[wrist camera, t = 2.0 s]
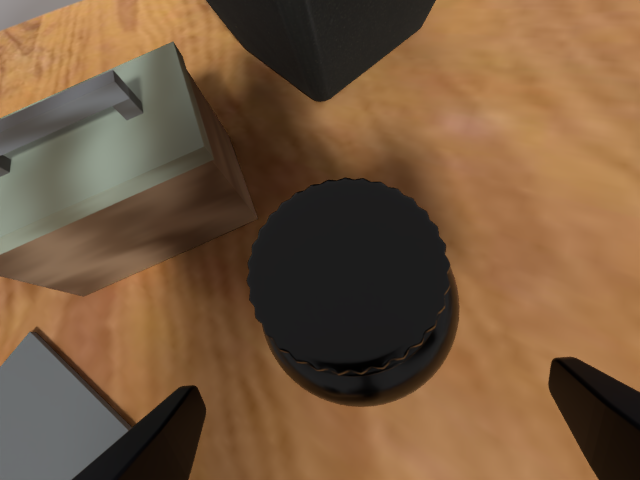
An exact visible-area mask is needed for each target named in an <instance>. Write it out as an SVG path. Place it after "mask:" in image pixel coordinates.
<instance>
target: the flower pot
mask: <svg viewBox="0 0 640 480" xmlns="http://www.w3.org/2000/svg"><path fill="white" fill-rule="evenodd" d="M206 1H207V2H208V3H209V5H210V6H211V7H212V9H213V10H214V11H215V12H216V14H217V15H218V16H219V18H220V19H221V20H222V21H223V23H224V24H225V25H226V26H227V28H228V29H229V30H230V31H231V33H232V34H233V35H234V36H235V37H236V39H237V40H238V41H239V42H240V43H241V45H242V46H243V47H244V48H245V49H246V50H248V51H249V52H251V53H252V54H253V55H255V56H256V57H257V58H259V59H260V60H261V61H262V62H264V63H265V64H266V65H268V66H269V67H270V68H272V69H273V70H274V71H276V72H277V73H278V74H280V75H281V76H283V77H284V78H285V79H286V80H288V81H289V82H290V83H292V84H293V85H294V86H296V87H297V88H298V89H300V90H301V91H302V92H304V93H305V94H306V95H308V96H309V97H310V98H312V99H313V100H315V101H320V102H321V101H326V100H329V99H331V98H332V97H333V96H334V95H336V94H337V93H338V92H339V91H341V90H342V89H343V88H344V87H346V86H347V85H348V84H350V83H351V82H352V81H353V80H355V79H356V78H357V77H359V76H360V75H361V74H363V73H364V72H365V71H366V70H368V69H369V68H370V67H372V66H373V65H374V64H376V63H377V62H378V61H379V60H381V59H382V58H383V57H384V56H386V55H387V54H388V53H390V52H391V51H392V50H393V49H395V48H396V47H397V46H399V45H400V44H401V43H402V42H404V41H405V40H406V39H408V38H409V37H410V36H411V35H413V34H414V33H415V32H416V31H418V30H419V29H420V28H421V27H422V25H423V23H424V21H425V20H426V18H427V16H428V14H429V12H430V10H431V8H432V6H433V4H434V3H435V1H436V0H206Z"/></svg>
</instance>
